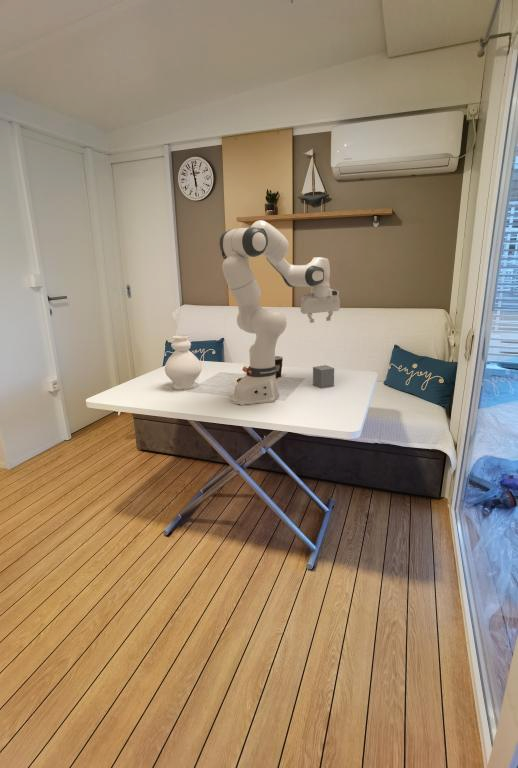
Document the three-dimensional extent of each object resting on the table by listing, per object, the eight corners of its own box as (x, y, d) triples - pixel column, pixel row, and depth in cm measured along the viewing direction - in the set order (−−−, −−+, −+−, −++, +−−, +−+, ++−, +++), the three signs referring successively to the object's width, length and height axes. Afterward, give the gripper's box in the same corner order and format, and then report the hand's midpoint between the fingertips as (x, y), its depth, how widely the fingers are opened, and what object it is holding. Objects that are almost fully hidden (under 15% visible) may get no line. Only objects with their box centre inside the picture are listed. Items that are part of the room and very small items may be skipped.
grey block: (321, 388, 192) (321, 370, 189) (312, 384, 198) (313, 367, 196) (333, 386, 195) (334, 368, 192) (325, 382, 201) (325, 365, 198)
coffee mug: (283, 374, 219) (283, 355, 216) (282, 378, 210) (282, 359, 208) (261, 374, 220) (261, 356, 217) (260, 378, 212) (259, 359, 209)
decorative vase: (163, 392, 195) (158, 340, 188) (170, 381, 212) (165, 334, 205) (201, 390, 196) (196, 338, 188) (204, 380, 213) (200, 332, 206)
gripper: (304, 294, 187) (305, 324, 191) (341, 291, 195) (341, 320, 199) (297, 293, 193) (298, 323, 197) (334, 290, 201) (333, 319, 205)
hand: (320, 321), depth 198 cm, fingers open, 8 cm apart
